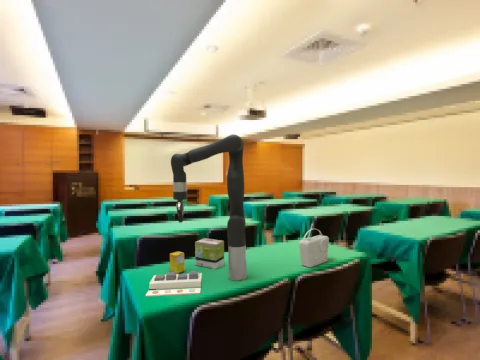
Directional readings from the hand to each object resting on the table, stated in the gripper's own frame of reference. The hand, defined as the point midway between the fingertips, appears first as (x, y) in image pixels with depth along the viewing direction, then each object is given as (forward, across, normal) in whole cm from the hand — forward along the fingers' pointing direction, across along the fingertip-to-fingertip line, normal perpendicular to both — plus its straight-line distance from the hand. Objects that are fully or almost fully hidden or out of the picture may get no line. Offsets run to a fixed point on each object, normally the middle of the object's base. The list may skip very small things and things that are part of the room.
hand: (180, 222), depth 149 cm
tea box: (+29, +14, -15) cm, 36 cm away
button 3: (+27, -12, +4) cm, 30 cm away
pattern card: (+29, -22, +1) cm, 37 cm away
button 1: (+27, -13, -7) cm, 30 cm away
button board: (+29, -12, +1) cm, 32 cm away
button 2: (+28, -12, -2) cm, 31 cm away
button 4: (+28, -13, +9) cm, 32 cm away
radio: (+29, +7, -78) cm, 84 cm away
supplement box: (+29, +4, +3) cm, 30 cm away
